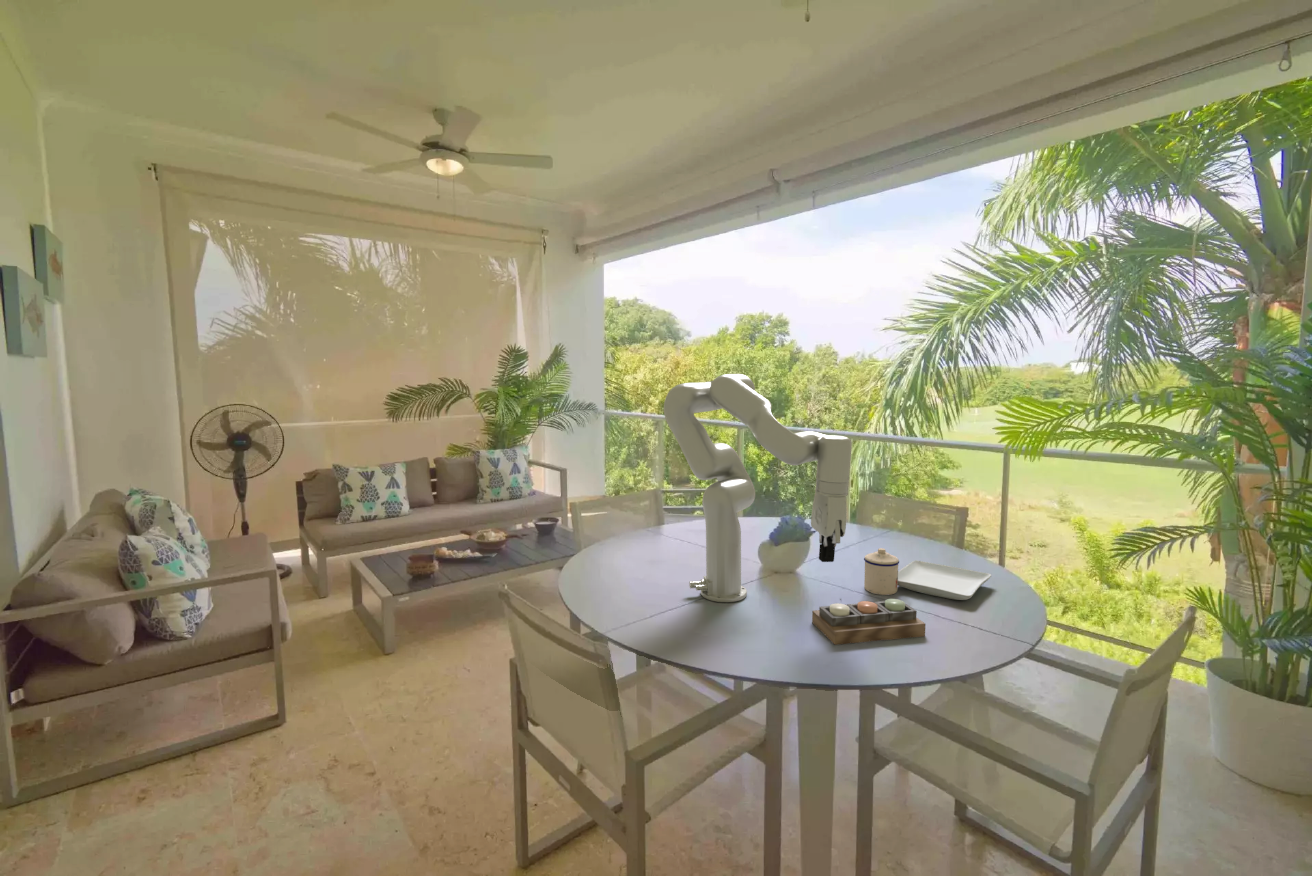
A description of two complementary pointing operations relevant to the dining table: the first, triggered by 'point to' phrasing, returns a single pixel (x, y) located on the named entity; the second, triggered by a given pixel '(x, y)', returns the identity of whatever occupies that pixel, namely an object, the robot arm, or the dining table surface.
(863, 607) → the terracotta button
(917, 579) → the salad plate
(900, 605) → the sage button
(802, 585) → the dining table surface
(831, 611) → the cream button
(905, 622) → the button console
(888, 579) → the teacup with lid
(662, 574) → the dining table surface
